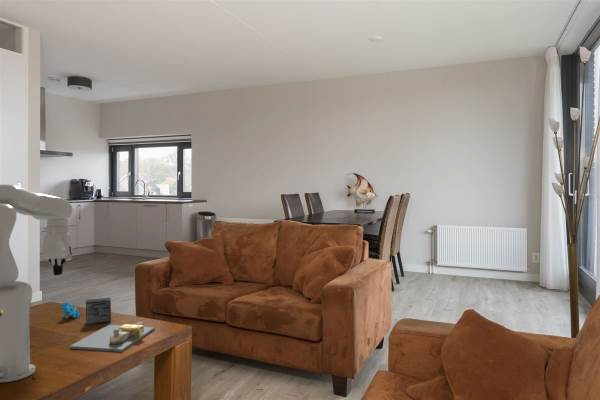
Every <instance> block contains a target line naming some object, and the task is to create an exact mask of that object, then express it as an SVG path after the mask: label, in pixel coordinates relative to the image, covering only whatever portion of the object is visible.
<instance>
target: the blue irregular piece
mask: <svg viewBox="0 0 600 400" xmlns="http://www.w3.org/2000/svg"><path fill="white" fill-rule="evenodd" d="M61 307H62V308H61V309H62V310H64V313H65V314H63V315H62V319H64V318H66V317H67V316H70V317H72V318H74V319H75V318H76V319H78V318H79V317H80V315H81V314H80V311H79V310H77V308H78V307H77V306H74V305H73V304H72V303H70V302H66V301H63V302H62V304H61Z"/></svg>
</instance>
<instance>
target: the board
mask: <svg viewBox="0 0 600 400" xmlns="http://www.w3.org/2000/svg"><path fill="white" fill-rule="evenodd" d="M122 325H123V324H122ZM122 325H121V324H120V325H119V324H107V325H106V326H104V327H102V328H100V329H98V330H97V331H95V332H92V333H91V334H89V335H87V336H86V337H84V338H82V339H80V340H78V341H75V343H73V344H71V345H69V349H73V350H86V351H99V352H100V351H103V352H114V353H115V352H118V353H123V352H124V351H126V350H127V349H128V348H130V347H131V346H133V345H134V344H136V343H137V342H139V341H140V340H141V339H143V338H144V337H146V336H147V335H149V334H150V333H152V332H153V331H155V329H156V328H155V327H153V326H144V329H143V336H142V337H140V338H135V337H134V335H132V336H131V337H129V338H127V339H125V340H124V341H123V342H122V343H120V344H110V336H111V335H113V334H114V329H119V327H120V326H122ZM120 331H122V330H119V332H120Z"/></svg>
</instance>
